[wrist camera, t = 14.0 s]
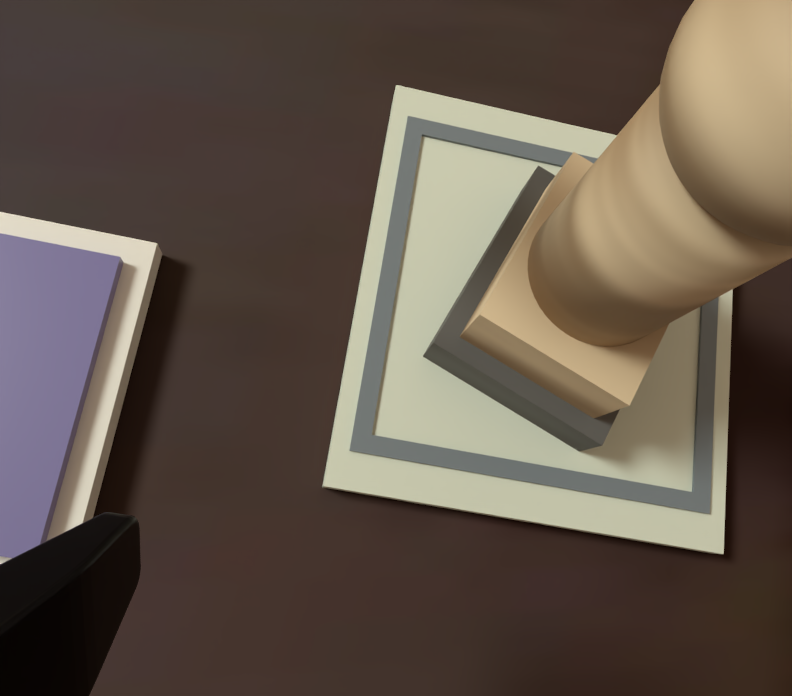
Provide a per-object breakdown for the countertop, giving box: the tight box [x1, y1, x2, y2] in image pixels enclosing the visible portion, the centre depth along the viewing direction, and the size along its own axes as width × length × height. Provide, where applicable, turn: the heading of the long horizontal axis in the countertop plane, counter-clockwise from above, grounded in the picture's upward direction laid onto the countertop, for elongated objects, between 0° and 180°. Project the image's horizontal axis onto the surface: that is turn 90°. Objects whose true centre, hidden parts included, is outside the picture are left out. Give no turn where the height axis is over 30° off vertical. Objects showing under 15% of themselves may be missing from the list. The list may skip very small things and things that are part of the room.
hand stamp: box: [423, 0, 792, 452], centre depth 14 cm, size 6×5×13 cm
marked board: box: [322, 85, 733, 554], centre depth 21 cm, size 12×11×1 cm
